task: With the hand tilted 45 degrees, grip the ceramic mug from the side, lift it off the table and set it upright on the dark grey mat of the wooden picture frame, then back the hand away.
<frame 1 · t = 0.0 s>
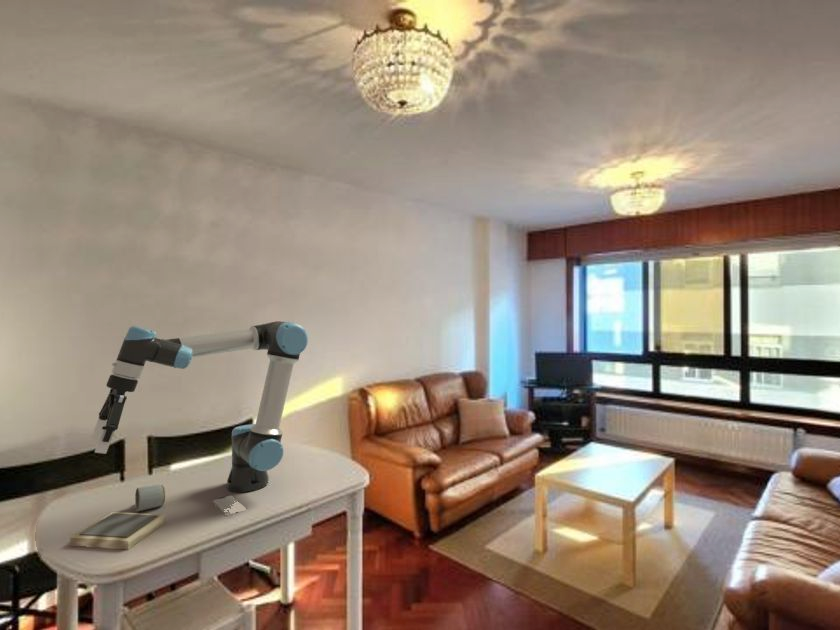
hand: (97, 447, 132), 28 cm above the table, tool tilted 20°, fingers open, 13 cm apart
wooden picture frame: (120, 533, 137), on the table
ceramic mug: (148, 507, 155), on the table
smartphone: (229, 507, 157), on the table
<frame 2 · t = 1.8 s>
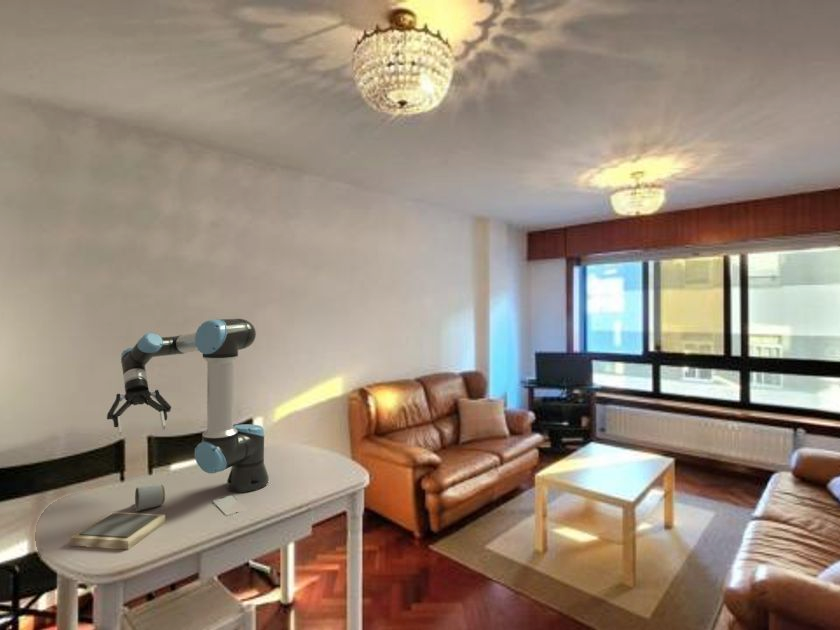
hand: (142, 430, 163), 24 cm above the table, tool tilted 45°, fingers open, 13 cm apart
nothing on the table moved.
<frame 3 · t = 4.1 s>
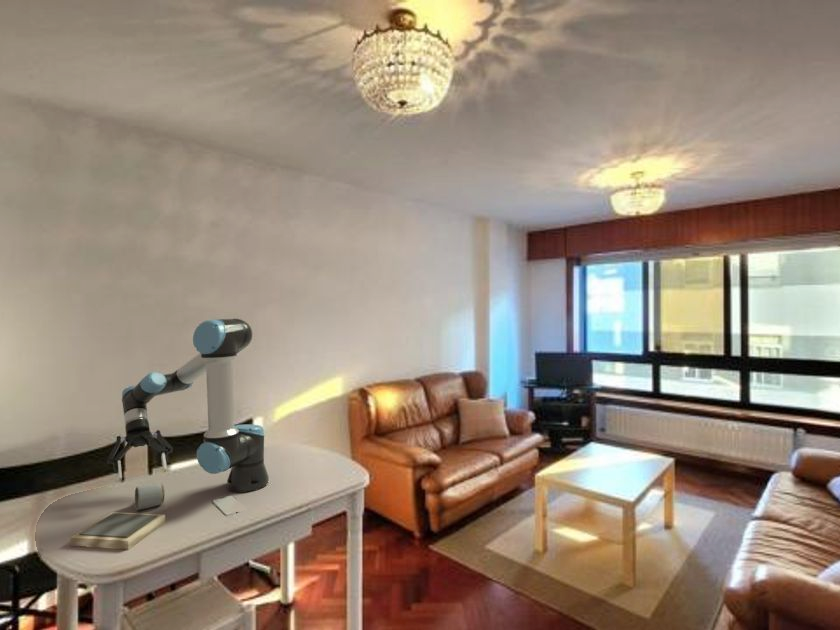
hand: (143, 475, 158), 10 cm above the table, tool tilted 45°, fingers open, 13 cm apart
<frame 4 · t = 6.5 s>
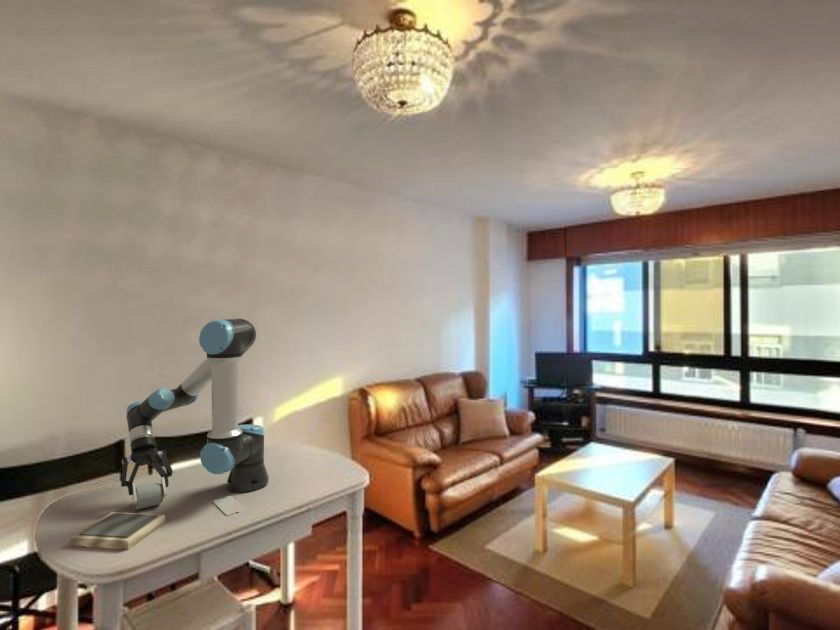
hand: (150, 499, 153), 4 cm above the table, tool tilted 45°, fingers closed on ceramic mug, 8 cm apart
ceramic mug: (146, 505, 156), on the table, touching gripper
everything else where it was.
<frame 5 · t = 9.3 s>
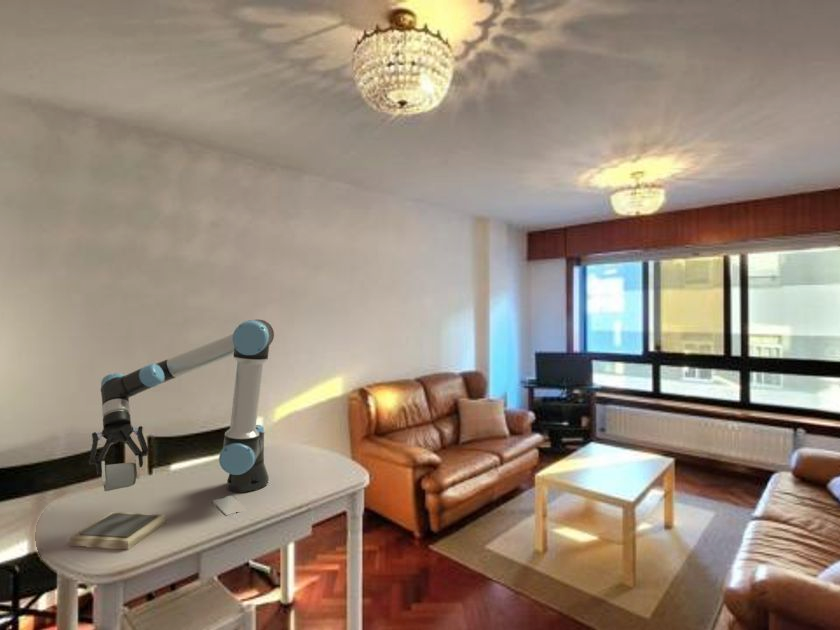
hand: (121, 479, 137), 17 cm above the table, tool tilted 45°, fingers closed on ceramic mug, 8 cm apart
ceramic mug: (118, 487, 141), point 13 cm above the table, touching gripper
everything else where it was.
when the fingers open (8 cm above the table, at t = 12.1 s): ceramic mug drops 1 cm, resting on wooden picture frame.
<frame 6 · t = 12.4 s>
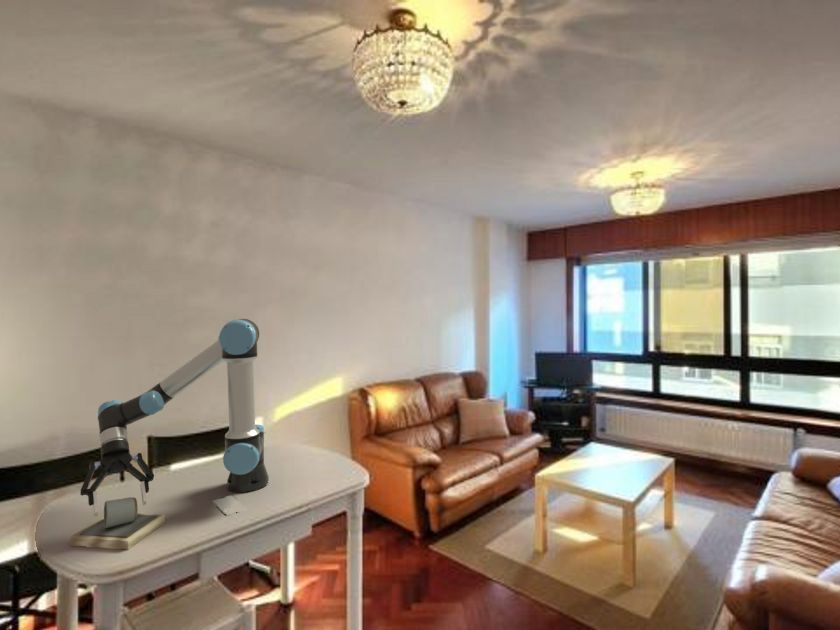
hand: (121, 508, 135), 9 cm above the table, tool tilted 45°, fingers open, 11 cm apart
ceramic mug: (118, 522, 138), point 3 cm above the table, touching wooden picture frame
everything else where it was.
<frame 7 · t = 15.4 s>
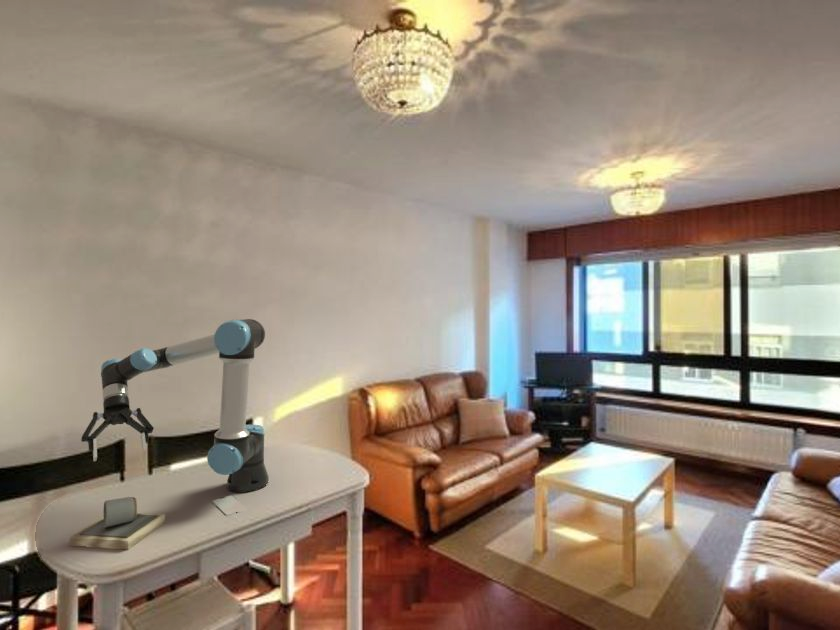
hand: (120, 455, 148), 20 cm above the table, tool tilted 40°, fingers open, 13 cm apart
nothing on the table moved.
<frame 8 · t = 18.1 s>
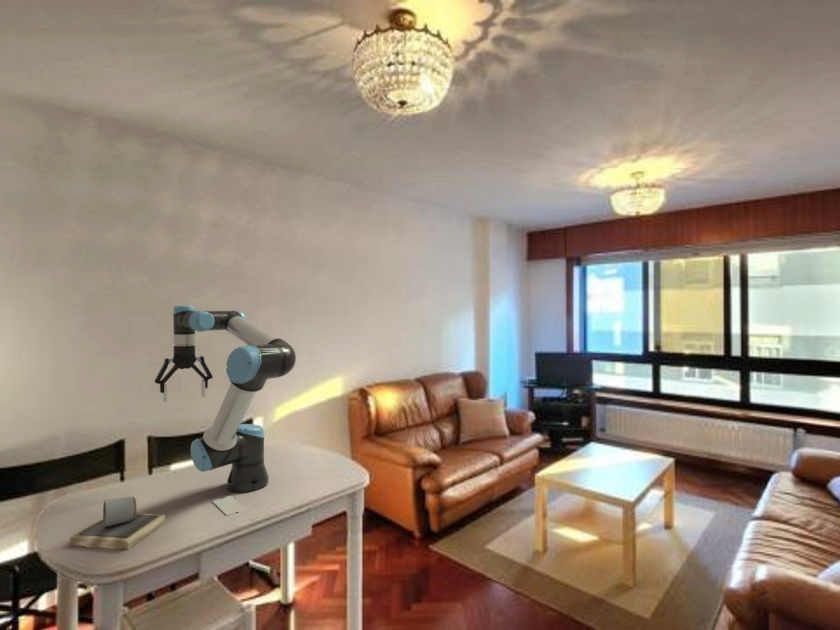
hand: (184, 399, 176), 33 cm above the table, tool pointing down, fingers open, 13 cm apart
nothing on the table moved.
at the end: ceramic mug inside the target area on the wooden picture frame (2.6 cm from its centre), point 2.7 cm above the wooden picture frame's base; ceramic mug tilted 1°; the gripper is holding nothing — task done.
